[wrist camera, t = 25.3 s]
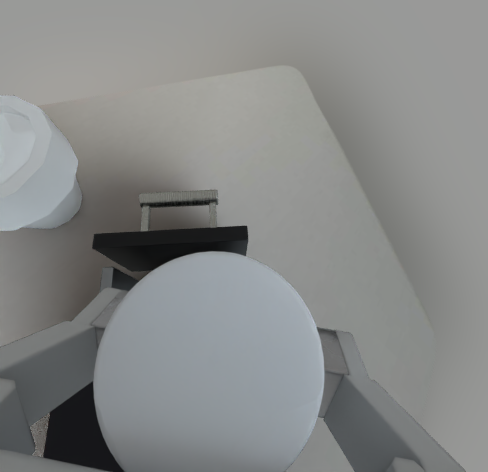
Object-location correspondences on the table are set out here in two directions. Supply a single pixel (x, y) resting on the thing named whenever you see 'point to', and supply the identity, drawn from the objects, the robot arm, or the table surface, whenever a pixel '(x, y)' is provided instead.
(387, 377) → the table surface
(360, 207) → the table surface
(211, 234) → the drawer
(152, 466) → the pill bottle
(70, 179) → the potted plant
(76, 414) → the black drawer cabinet
